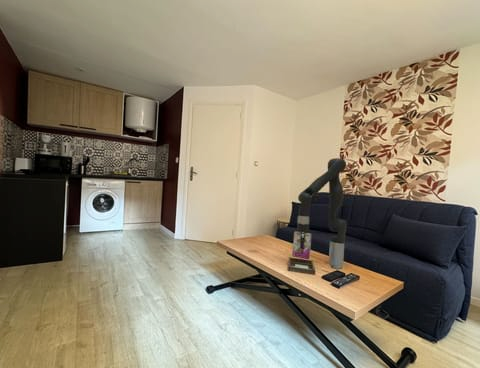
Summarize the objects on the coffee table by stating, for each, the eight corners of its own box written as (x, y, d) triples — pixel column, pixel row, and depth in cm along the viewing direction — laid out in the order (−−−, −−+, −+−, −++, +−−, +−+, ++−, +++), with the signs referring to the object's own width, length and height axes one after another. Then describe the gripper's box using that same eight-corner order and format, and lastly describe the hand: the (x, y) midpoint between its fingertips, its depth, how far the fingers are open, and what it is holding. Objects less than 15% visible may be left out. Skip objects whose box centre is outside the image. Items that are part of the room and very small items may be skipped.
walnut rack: (288, 263, 160) (288, 257, 160) (312, 266, 156) (312, 260, 156) (287, 273, 141) (288, 266, 141) (314, 277, 138) (315, 270, 138)
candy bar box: (292, 256, 154) (293, 232, 154) (293, 254, 158) (294, 231, 159) (309, 259, 150) (310, 234, 150) (310, 257, 154) (311, 233, 154)
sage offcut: (295, 267, 149) (295, 264, 149) (307, 269, 147) (308, 266, 147) (294, 270, 143) (295, 267, 143) (308, 272, 141) (308, 269, 141)
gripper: (297, 220, 162) (296, 244, 162) (297, 223, 148) (296, 249, 148) (308, 221, 160) (307, 245, 160) (309, 224, 146) (308, 251, 146)
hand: (301, 247), depth 154 cm, fingers closed on candy bar box, 5 cm apart
